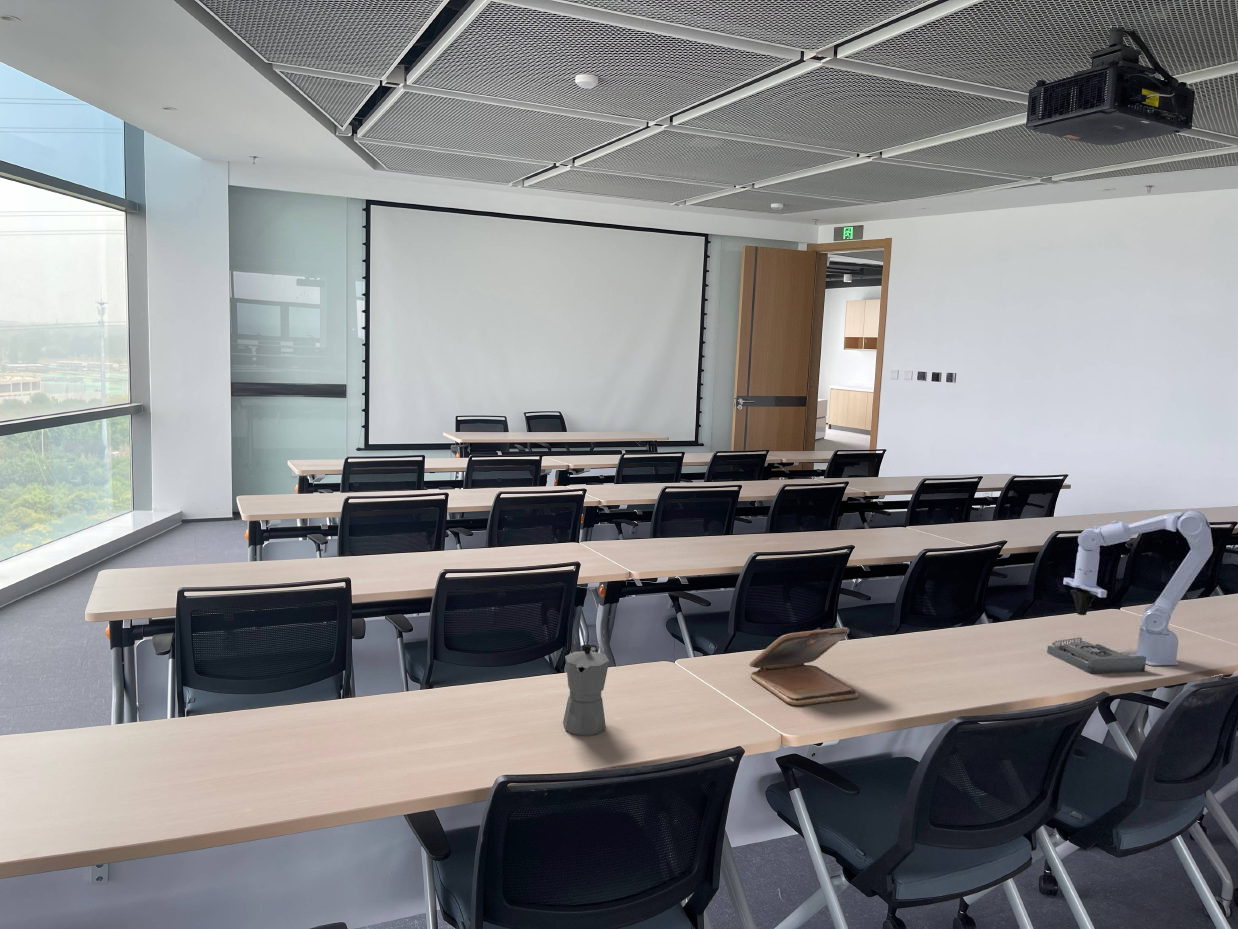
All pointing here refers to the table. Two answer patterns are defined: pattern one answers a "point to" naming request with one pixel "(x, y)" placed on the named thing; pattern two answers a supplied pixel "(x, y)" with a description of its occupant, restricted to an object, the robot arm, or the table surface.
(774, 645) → the case
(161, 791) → the table surface
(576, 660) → the coffeepot
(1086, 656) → the graphics card
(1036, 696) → the table surface
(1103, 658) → the mounting bracket
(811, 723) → the table surface
